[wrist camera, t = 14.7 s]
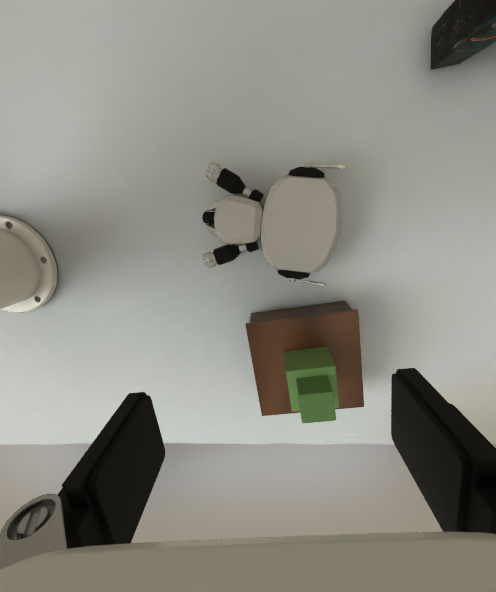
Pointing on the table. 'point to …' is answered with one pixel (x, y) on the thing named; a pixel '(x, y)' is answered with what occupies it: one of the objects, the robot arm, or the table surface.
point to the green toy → (312, 384)
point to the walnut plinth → (304, 335)
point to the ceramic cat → (463, 31)
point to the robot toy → (278, 221)
